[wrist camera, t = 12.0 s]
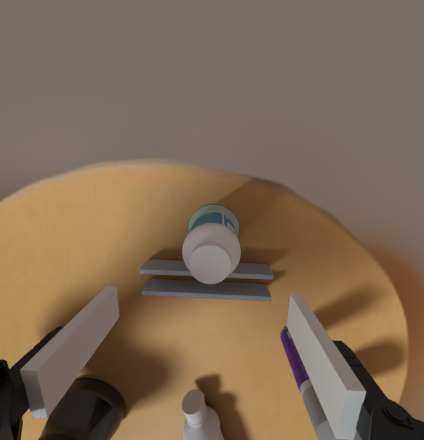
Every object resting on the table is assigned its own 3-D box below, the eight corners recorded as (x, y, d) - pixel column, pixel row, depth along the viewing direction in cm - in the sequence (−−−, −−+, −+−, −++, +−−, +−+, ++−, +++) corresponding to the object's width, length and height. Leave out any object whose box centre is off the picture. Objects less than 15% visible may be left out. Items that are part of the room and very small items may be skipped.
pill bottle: (187, 241, 35) (165, 281, 22) (201, 203, 33) (188, 221, 20) (225, 256, 35) (228, 304, 22) (242, 219, 34) (255, 247, 20)
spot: (188, 252, 36) (188, 253, 35) (188, 203, 34) (187, 203, 33) (237, 254, 35) (237, 255, 35) (240, 205, 33) (240, 205, 33)
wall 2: (149, 282, 37) (141, 294, 34) (149, 278, 37) (141, 290, 33) (265, 287, 37) (270, 301, 33) (266, 283, 36) (271, 296, 32)
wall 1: (148, 263, 37) (139, 273, 33) (148, 259, 36) (139, 269, 32) (267, 268, 36) (273, 279, 32) (267, 263, 35) (273, 275, 32)
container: (275, 337, 39) (307, 435, 24) (288, 320, 38) (330, 412, 23) (295, 348, 39) (338, 450, 25) (308, 331, 38) (362, 428, 24)
